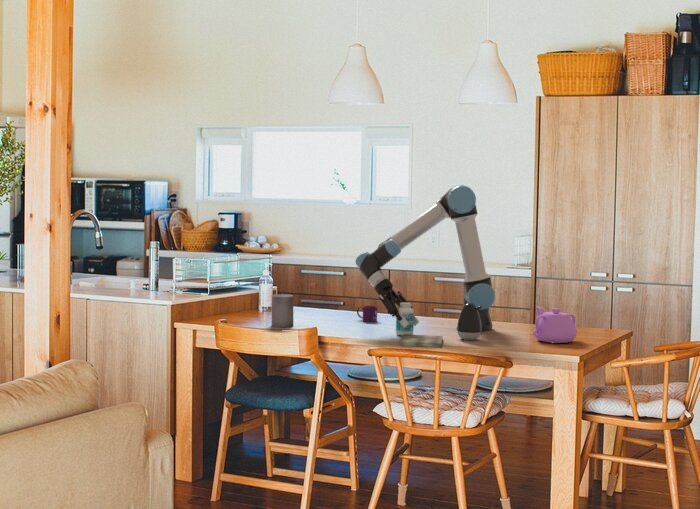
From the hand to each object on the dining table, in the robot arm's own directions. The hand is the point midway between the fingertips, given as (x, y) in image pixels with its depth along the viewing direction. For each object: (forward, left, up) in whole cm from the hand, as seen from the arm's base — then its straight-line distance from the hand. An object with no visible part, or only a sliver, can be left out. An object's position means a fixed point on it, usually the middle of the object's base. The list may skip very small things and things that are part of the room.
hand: (411, 324), depth 394 cm
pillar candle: (+58, -15, -5) cm, 60 cm away
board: (-5, +15, -5) cm, 17 cm away
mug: (+23, -42, -5) cm, 48 cm away
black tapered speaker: (-24, +2, -5) cm, 25 cm away
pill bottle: (+3, -2, -5) cm, 6 cm away
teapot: (-58, -4, -5) cm, 58 cm away
